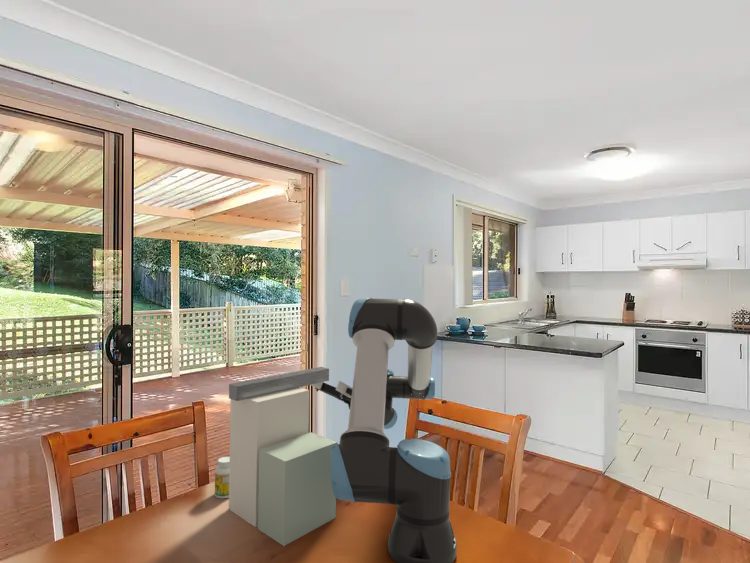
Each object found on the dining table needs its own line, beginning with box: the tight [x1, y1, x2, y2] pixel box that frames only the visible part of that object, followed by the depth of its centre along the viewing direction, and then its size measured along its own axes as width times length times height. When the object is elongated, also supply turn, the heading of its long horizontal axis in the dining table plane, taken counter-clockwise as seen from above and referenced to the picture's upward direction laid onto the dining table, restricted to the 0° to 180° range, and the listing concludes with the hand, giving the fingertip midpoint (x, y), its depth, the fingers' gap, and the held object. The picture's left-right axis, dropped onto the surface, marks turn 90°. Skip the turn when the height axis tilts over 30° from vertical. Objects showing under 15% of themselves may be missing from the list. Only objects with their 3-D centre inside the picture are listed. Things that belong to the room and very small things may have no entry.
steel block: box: [228, 366, 330, 401], centre depth 118 cm, size 30×4×4 cm, turn 139°
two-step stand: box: [228, 387, 338, 547], centre depth 112 cm, size 16×23×30 cm
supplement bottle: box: [214, 456, 230, 500], centre depth 121 cm, size 5×5×10 cm
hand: (322, 381), depth 130 cm, fingers open, 13 cm apart
